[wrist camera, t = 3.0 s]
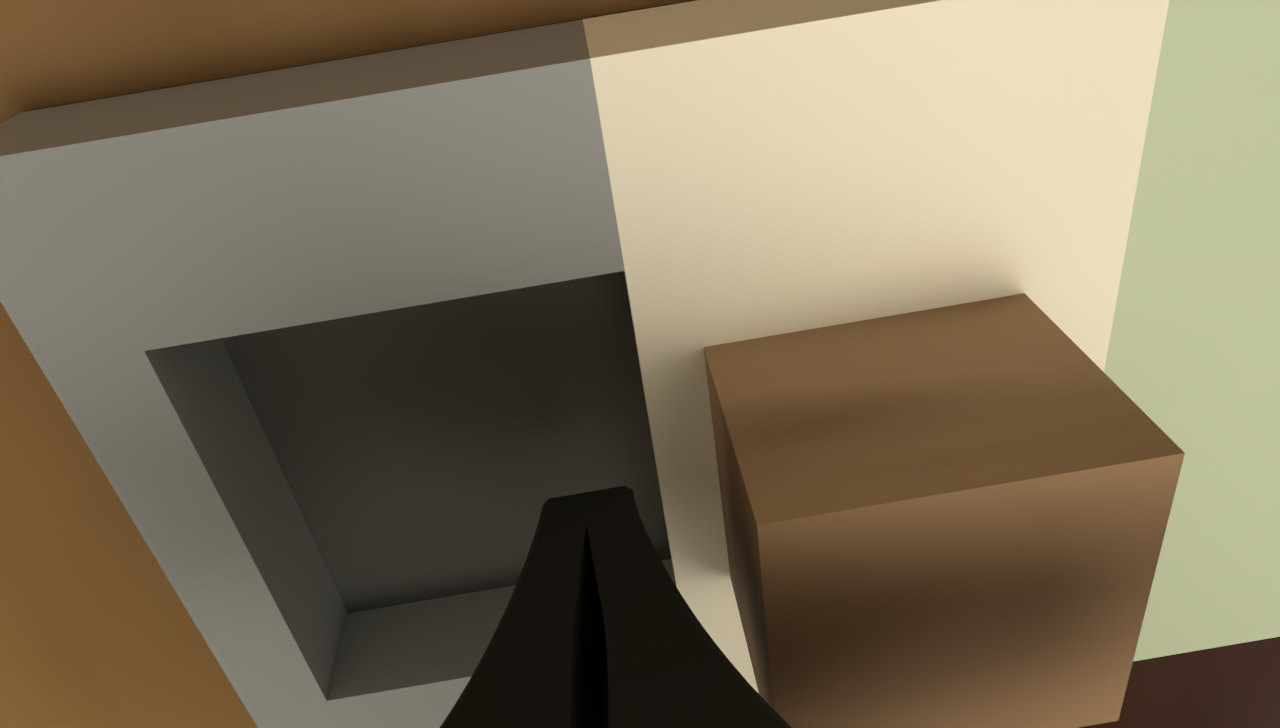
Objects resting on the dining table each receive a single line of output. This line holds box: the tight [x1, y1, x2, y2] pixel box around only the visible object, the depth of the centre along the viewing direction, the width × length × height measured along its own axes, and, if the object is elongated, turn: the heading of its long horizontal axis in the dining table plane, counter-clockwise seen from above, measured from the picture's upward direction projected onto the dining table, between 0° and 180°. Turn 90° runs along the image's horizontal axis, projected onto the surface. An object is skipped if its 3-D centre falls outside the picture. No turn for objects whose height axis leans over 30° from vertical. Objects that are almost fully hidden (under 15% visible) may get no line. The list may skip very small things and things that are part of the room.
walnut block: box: [704, 293, 1185, 728], centre depth 13 cm, size 5×5×4 cm
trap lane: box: [0, 0, 1280, 728], centre depth 16 cm, size 14×32×2 cm, turn 98°
